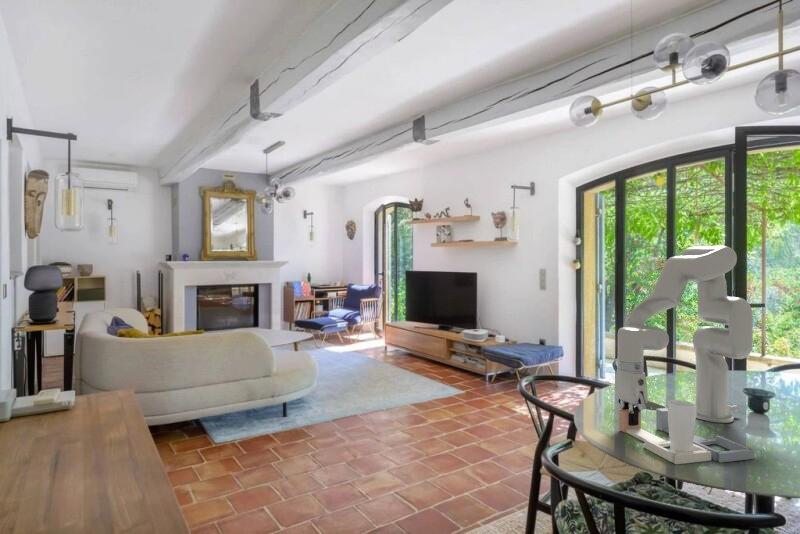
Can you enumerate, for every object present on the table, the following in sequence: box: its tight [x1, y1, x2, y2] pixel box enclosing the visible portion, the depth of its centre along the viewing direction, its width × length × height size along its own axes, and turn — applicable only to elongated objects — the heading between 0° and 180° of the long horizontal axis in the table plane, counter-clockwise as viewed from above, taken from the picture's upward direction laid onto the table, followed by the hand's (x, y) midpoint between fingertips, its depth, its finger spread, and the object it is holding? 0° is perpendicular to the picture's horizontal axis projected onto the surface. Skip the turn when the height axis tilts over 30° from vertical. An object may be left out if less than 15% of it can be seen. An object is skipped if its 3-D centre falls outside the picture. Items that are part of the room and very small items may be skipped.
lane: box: [618, 408, 712, 465], centre depth 141 cm, size 11×26×6 cm, turn 13°
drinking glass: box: [667, 399, 697, 453], centre depth 133 cm, size 7×7×15 cm
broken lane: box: [655, 407, 755, 463], centre depth 142 cm, size 11×26×6 cm, turn 13°
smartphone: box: [645, 400, 666, 411], centre depth 183 cm, size 7×1×16 cm
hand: (629, 423), depth 153 cm, fingers closed on lane, 2 cm apart
